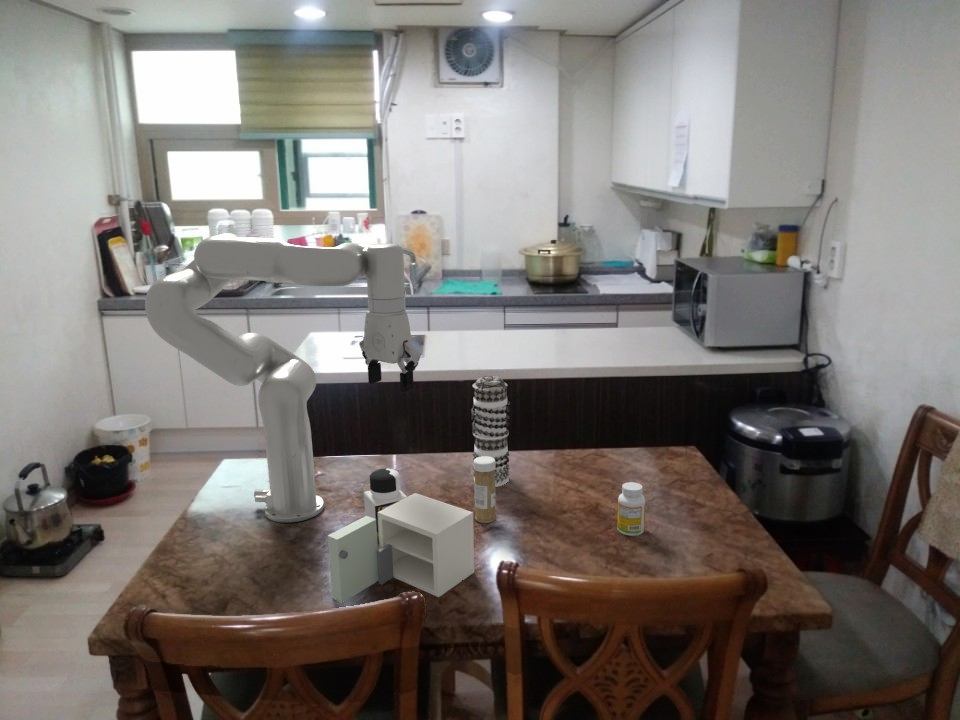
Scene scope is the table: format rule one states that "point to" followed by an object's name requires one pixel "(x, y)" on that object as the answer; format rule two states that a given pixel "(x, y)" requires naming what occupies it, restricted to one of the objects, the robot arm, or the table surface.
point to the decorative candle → (491, 424)
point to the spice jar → (485, 489)
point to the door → (353, 558)
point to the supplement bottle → (631, 509)
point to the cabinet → (425, 544)
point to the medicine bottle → (382, 492)
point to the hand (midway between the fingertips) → (390, 386)
